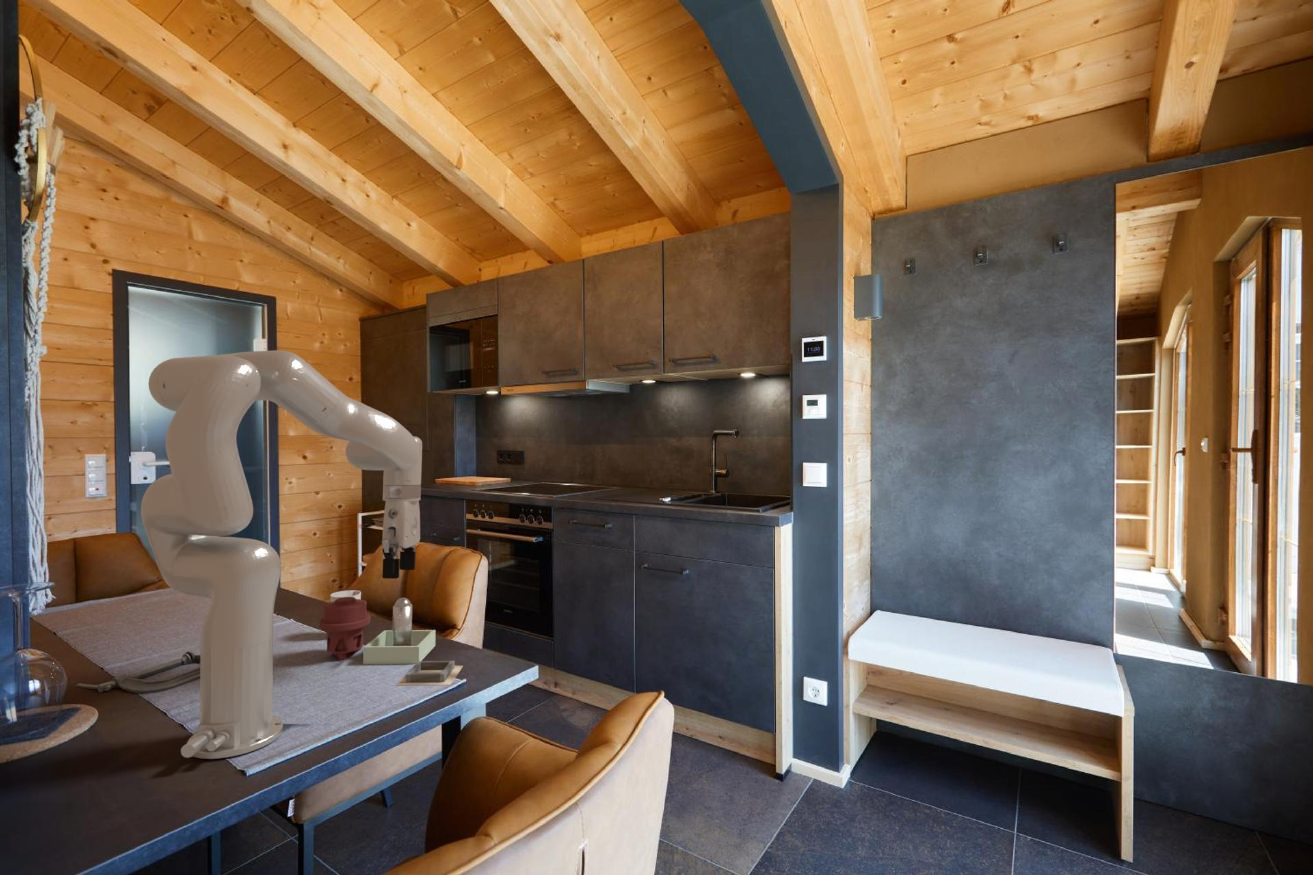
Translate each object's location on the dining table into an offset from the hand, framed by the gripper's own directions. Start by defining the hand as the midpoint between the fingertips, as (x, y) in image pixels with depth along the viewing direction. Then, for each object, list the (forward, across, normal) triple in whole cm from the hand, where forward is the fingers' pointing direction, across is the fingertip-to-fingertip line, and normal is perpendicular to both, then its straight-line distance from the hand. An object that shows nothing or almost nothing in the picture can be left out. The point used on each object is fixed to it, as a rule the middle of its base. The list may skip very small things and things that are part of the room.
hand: (399, 573), depth 133 cm
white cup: (+18, +18, +18) cm, 32 cm away
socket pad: (+19, -11, -10) cm, 24 cm away
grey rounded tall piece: (+18, +1, -1) cm, 18 cm away
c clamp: (+20, -6, +43) cm, 48 cm away
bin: (+19, +1, 0) cm, 19 cm away
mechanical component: (+19, +4, +12) cm, 23 cm away
